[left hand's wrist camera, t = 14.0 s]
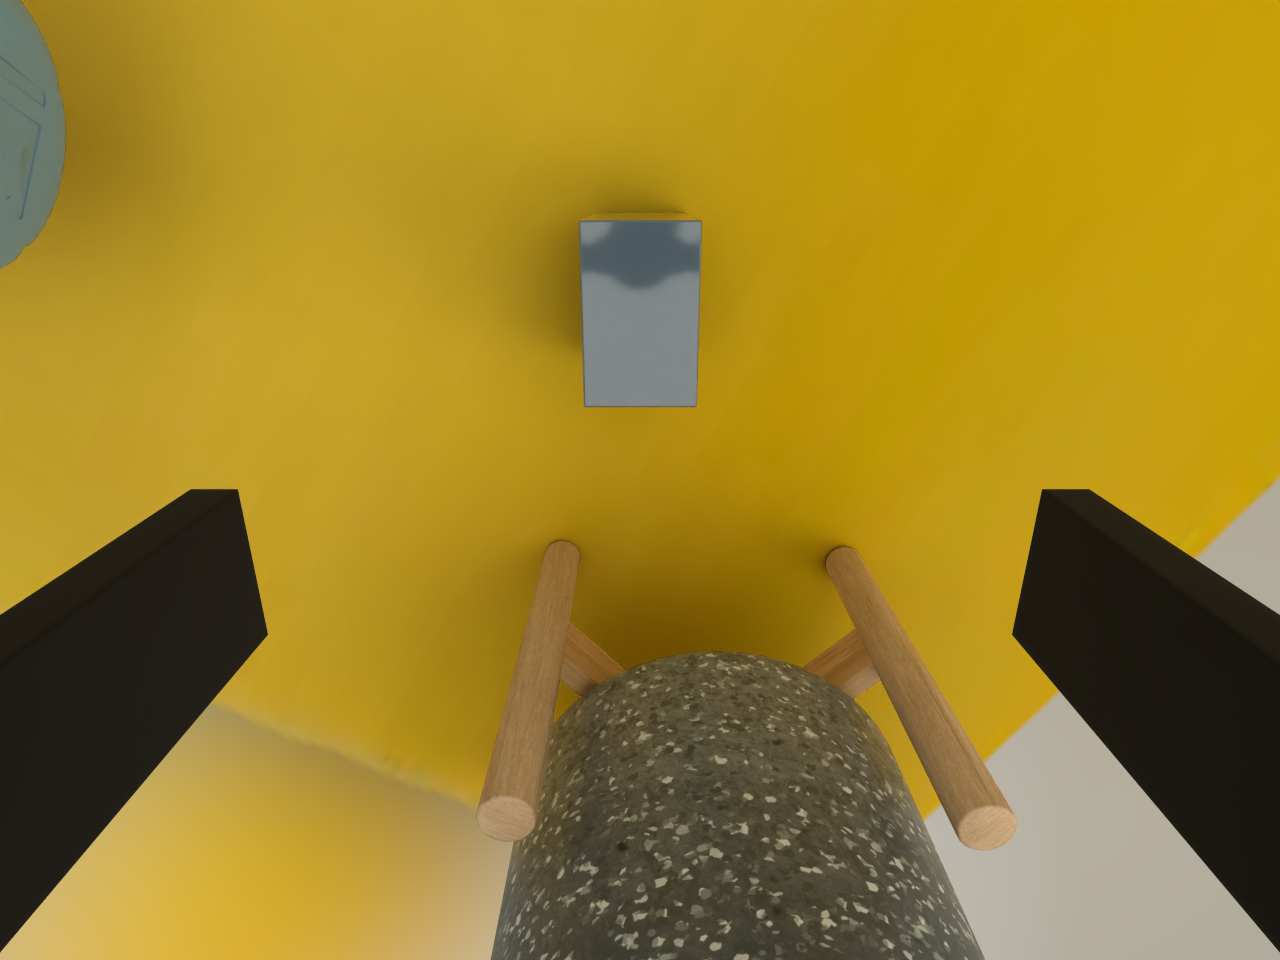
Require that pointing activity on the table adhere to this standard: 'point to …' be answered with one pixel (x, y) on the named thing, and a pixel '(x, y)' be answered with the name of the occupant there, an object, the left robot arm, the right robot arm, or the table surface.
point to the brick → (640, 309)
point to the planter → (728, 797)
